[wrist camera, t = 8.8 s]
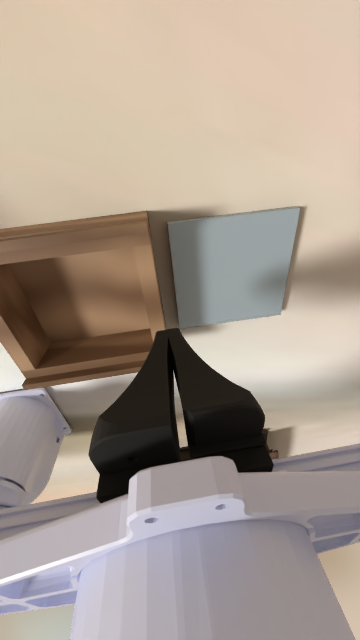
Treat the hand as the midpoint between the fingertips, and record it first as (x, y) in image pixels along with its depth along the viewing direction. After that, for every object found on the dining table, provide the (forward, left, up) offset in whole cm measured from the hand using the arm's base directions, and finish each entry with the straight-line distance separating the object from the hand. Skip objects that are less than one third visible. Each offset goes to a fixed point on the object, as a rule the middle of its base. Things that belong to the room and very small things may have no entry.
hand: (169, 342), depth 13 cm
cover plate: (0, -7, -10) cm, 12 cm away
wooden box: (0, +7, -9) cm, 12 cm away
